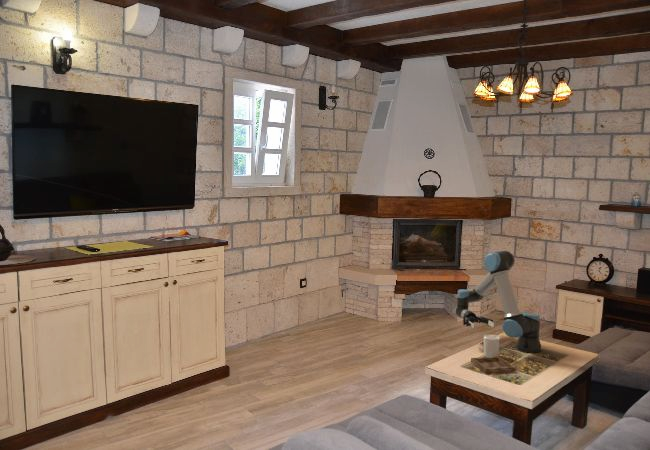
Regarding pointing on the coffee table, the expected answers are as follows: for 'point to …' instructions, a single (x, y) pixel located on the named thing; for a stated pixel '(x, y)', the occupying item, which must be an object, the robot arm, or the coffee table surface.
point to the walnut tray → (492, 364)
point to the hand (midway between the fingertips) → (483, 326)
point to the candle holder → (491, 345)
